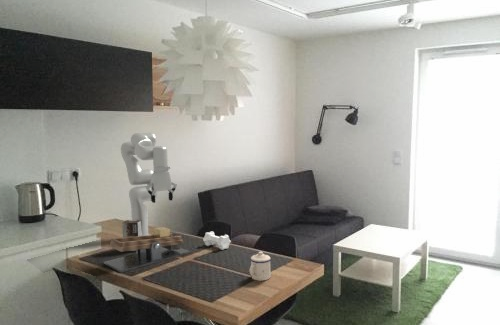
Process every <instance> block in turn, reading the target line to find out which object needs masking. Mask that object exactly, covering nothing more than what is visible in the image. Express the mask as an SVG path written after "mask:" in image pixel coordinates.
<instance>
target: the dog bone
mask: <svg viewBox="0 0 500 325" xmlns="http://www.w3.org/2000/svg"><path fill="white" fill-rule="evenodd" d="M204 234H205V235H204V237H203V238H202V241H203V242H204V245H205V246H206V247H210V246H213V245H215V246H218V249H220V251H224V250H225V249H226V250H228V249H229V246H230V245H231V244H230V243H232V241H231V240H230V236H229V235H228V234H224V235H219V236H218V235H215V232H214V231H213V230H212V231H209V232H205V233H204Z"/></svg>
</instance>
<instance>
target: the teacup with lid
mask: <svg viewBox="0 0 500 325" xmlns="http://www.w3.org/2000/svg"><path fill="white" fill-rule="evenodd" d="M271 260H272V258H271V257H270V255H268V254H265V253H264V252H263V251H258V253H257V254H253V255H252V256H251V257H250V267H249V274H250V275H251V276H250V278H251V279H252V280H254V281H259V282H260V281H268V280H269V279H270V278H271Z"/></svg>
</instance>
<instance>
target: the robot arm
mask: <svg viewBox="0 0 500 325" xmlns="http://www.w3.org/2000/svg"><path fill="white" fill-rule="evenodd" d="M156 144H157V138H156V135H155V134H154V133H152V132H135V133H133V134H132V135H131V137H130V141H125V142H123V143H121V145H120V155H121V157H122V160H123V161H124V164H125V167H126V172H127V178H128V181H129V184H130V185H132V186H135V187H132V188H130V189H129V191H128V199H129V202H130V210H131V212H130V214H131V220H142V236H146V235H152V234H151V233H149V223H148V222H149V221H148V219H149V217H148V207H147V206H146V205H145V204H144V202H150V201H151V202H152V203H153V204H155V203H156V200H157V199H158V198H159V192H163V191H168V200H169V201H170V202H171V201H173V198H174V196H173V194H174V192H175V190H176V188H177V184H176V183H174V182H172V180H171V174H170V171H169V170H170V169H171V167H170V166H169V164H168V161H169V160H168V149H167V147H166V146H161V145H156ZM135 156H136V157H135ZM139 159H140V160H141V161H152V163H153V165H152V166H153V170H152V169H149V168H146V169H145V168H143V169H142V167H141V162H140V161H139Z"/></svg>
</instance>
